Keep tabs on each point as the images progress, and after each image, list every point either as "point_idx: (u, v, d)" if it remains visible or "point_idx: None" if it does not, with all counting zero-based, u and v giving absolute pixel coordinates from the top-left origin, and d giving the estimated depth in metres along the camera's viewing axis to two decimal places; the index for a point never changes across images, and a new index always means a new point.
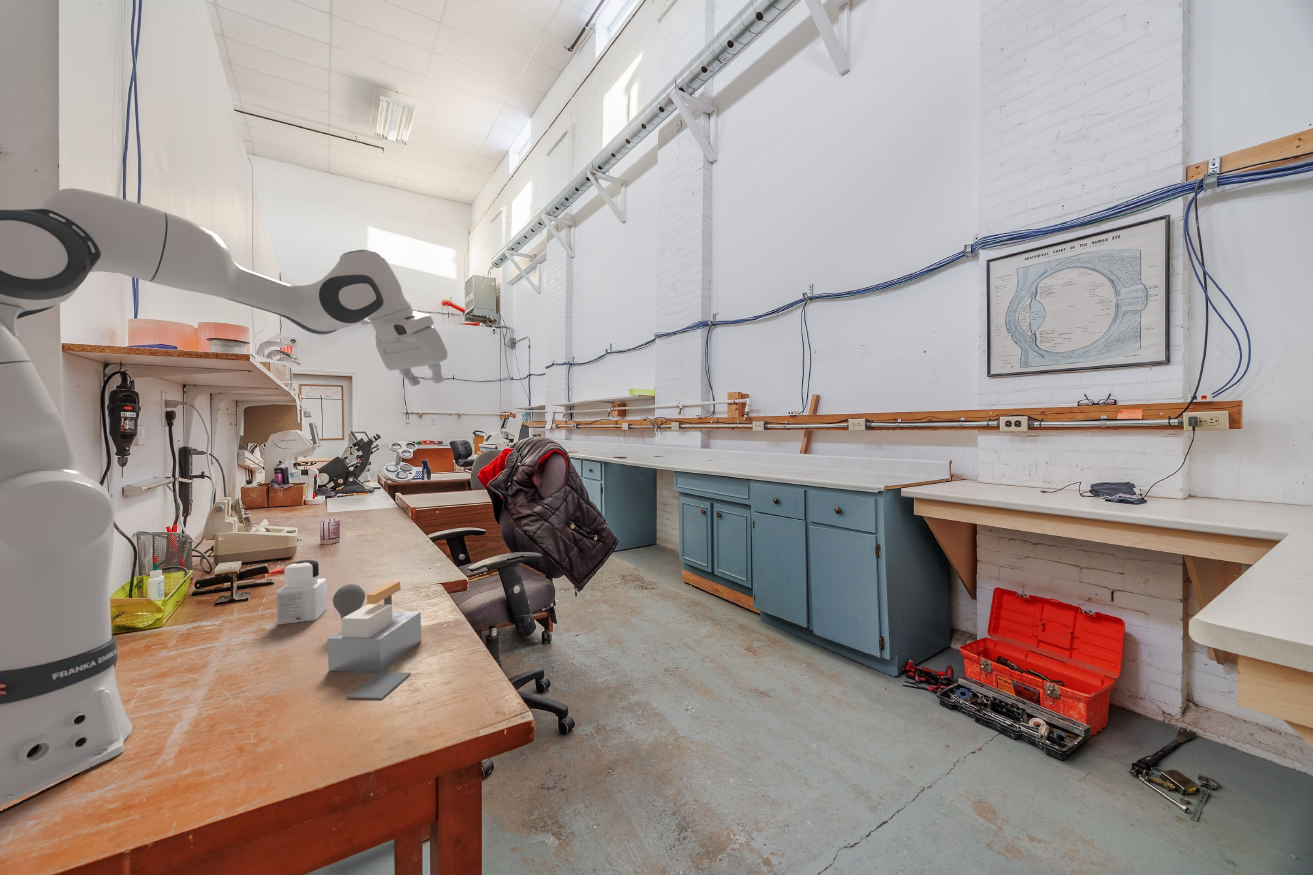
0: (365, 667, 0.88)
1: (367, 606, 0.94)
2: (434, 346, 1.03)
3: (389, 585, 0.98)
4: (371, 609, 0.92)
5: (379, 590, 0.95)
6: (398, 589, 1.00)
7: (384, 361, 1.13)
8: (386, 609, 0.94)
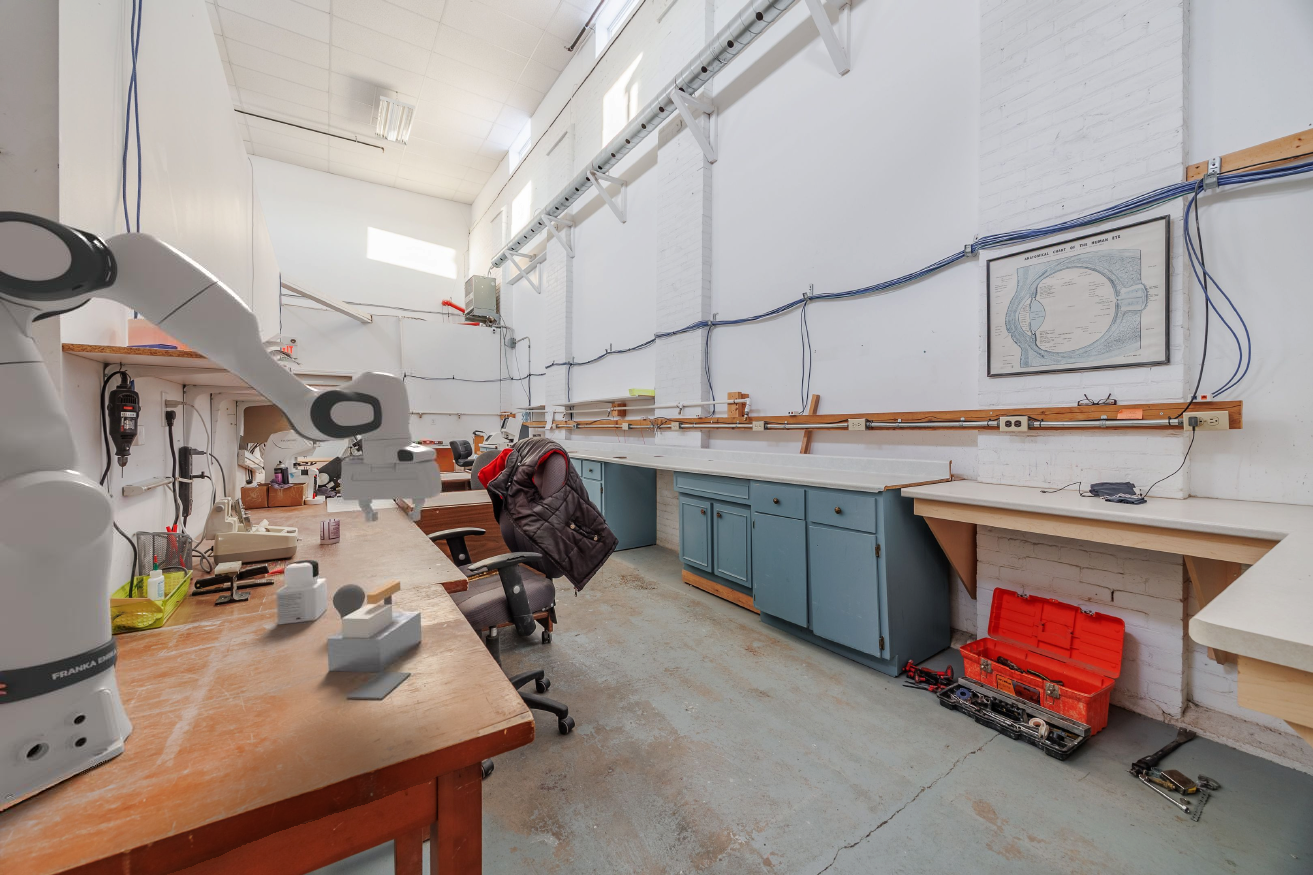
0: (365, 667, 0.88)
1: (367, 606, 0.94)
2: (434, 480, 0.97)
3: (389, 585, 0.98)
4: (371, 609, 0.92)
5: (379, 590, 0.95)
6: (398, 589, 1.00)
7: (343, 488, 0.98)
8: (386, 609, 0.94)
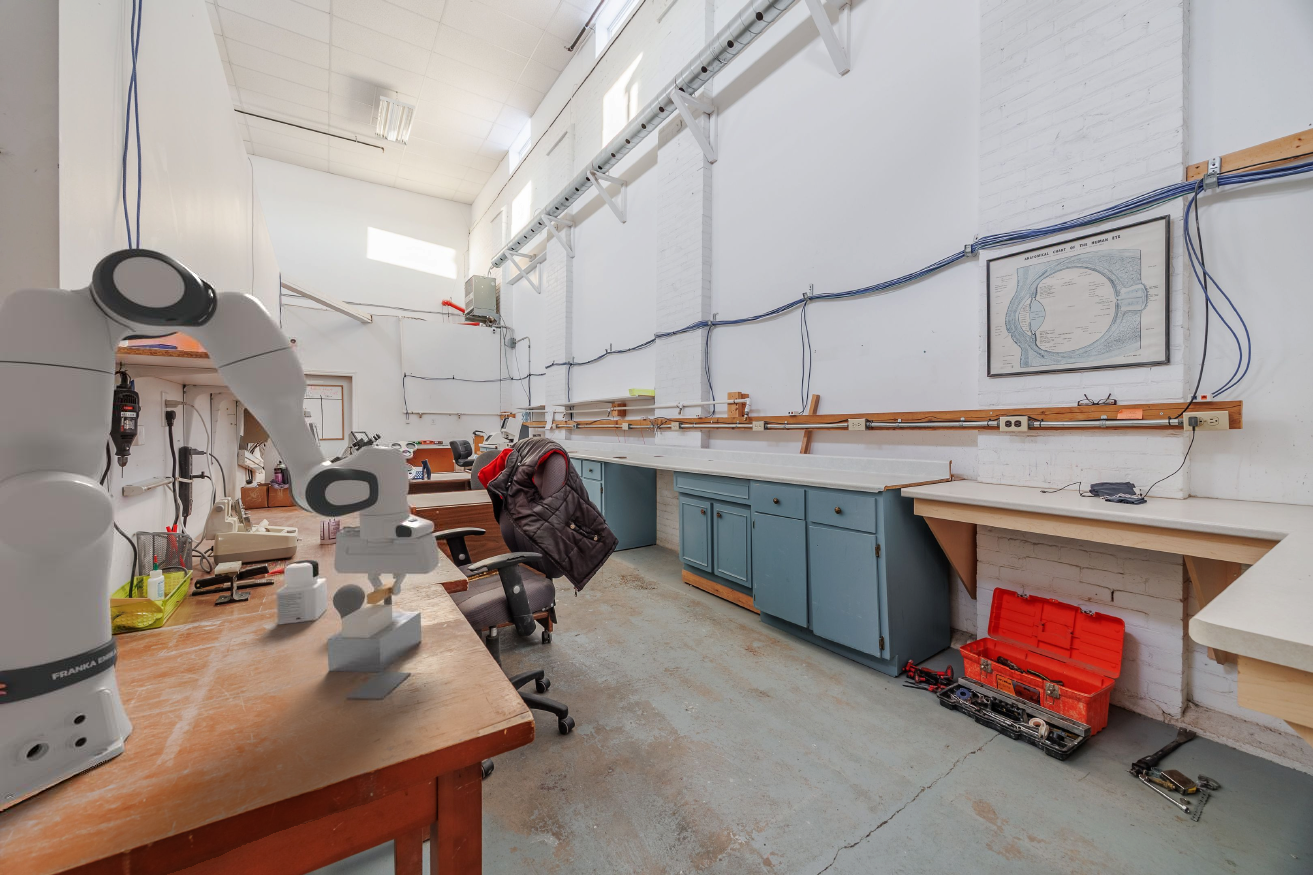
0: (365, 667, 0.88)
1: (367, 606, 0.94)
2: (432, 555, 0.96)
3: (389, 585, 0.98)
4: (371, 609, 0.92)
5: (379, 590, 0.95)
6: None
7: (338, 561, 0.97)
8: (386, 609, 0.94)
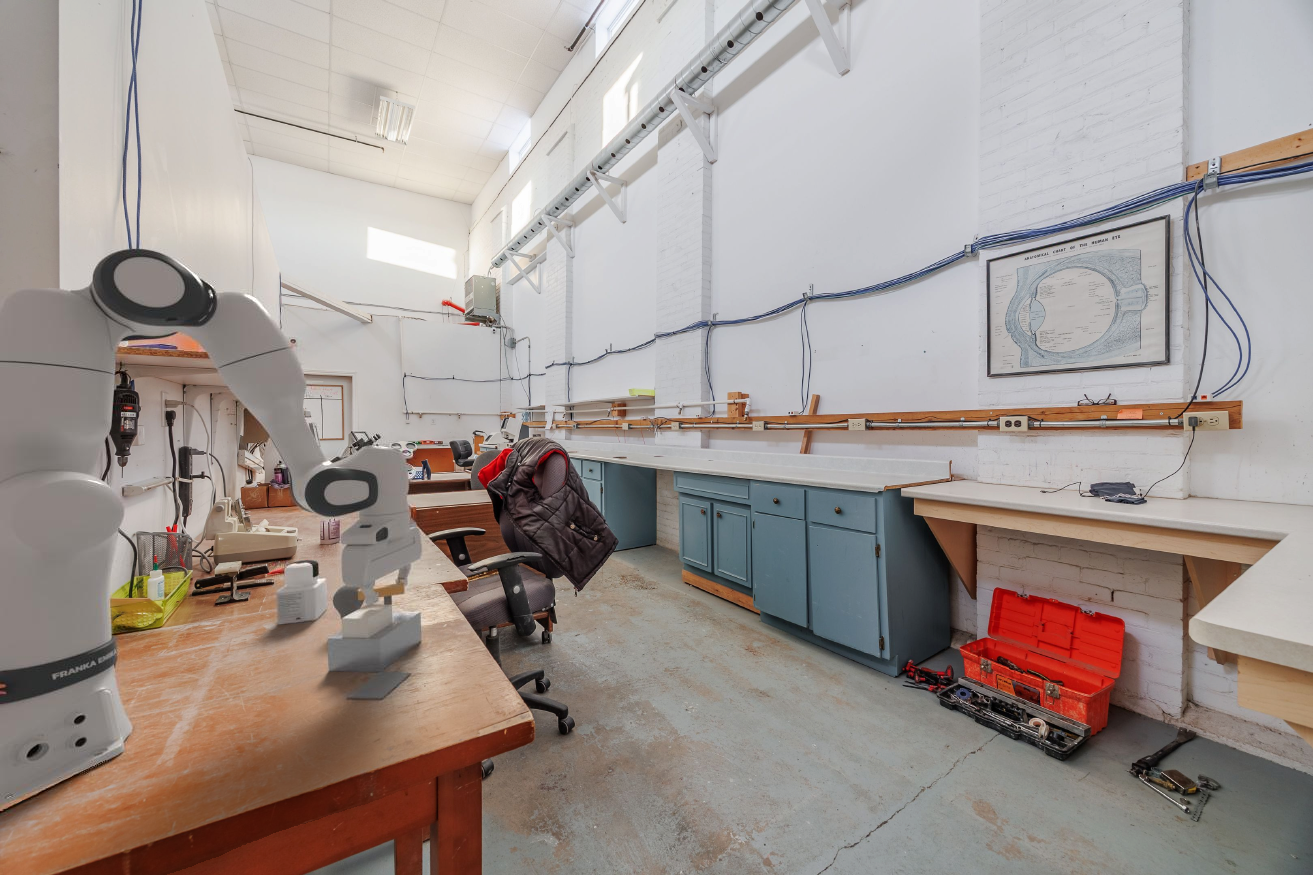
0: (365, 667, 0.88)
1: (367, 606, 0.94)
2: (349, 569, 0.88)
3: (389, 586, 0.98)
4: (371, 609, 0.92)
5: (373, 587, 0.97)
6: (399, 592, 0.98)
7: None
8: (386, 609, 0.94)
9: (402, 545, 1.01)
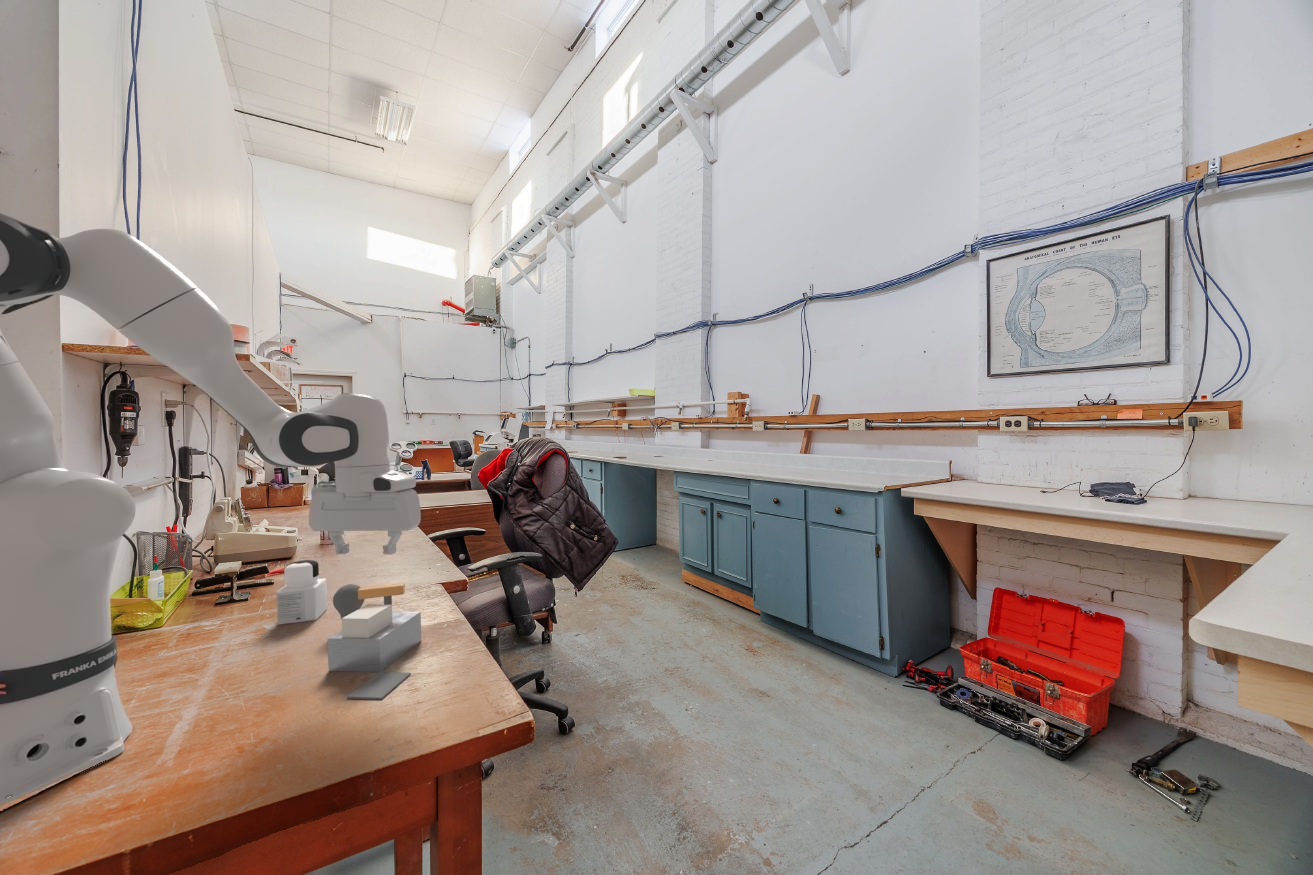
0: (365, 667, 0.88)
1: (367, 606, 0.94)
2: (413, 511, 0.90)
3: (389, 586, 0.98)
4: (371, 609, 0.92)
5: (373, 587, 0.97)
6: (399, 592, 0.98)
7: (312, 518, 0.90)
8: (386, 609, 0.94)
9: None
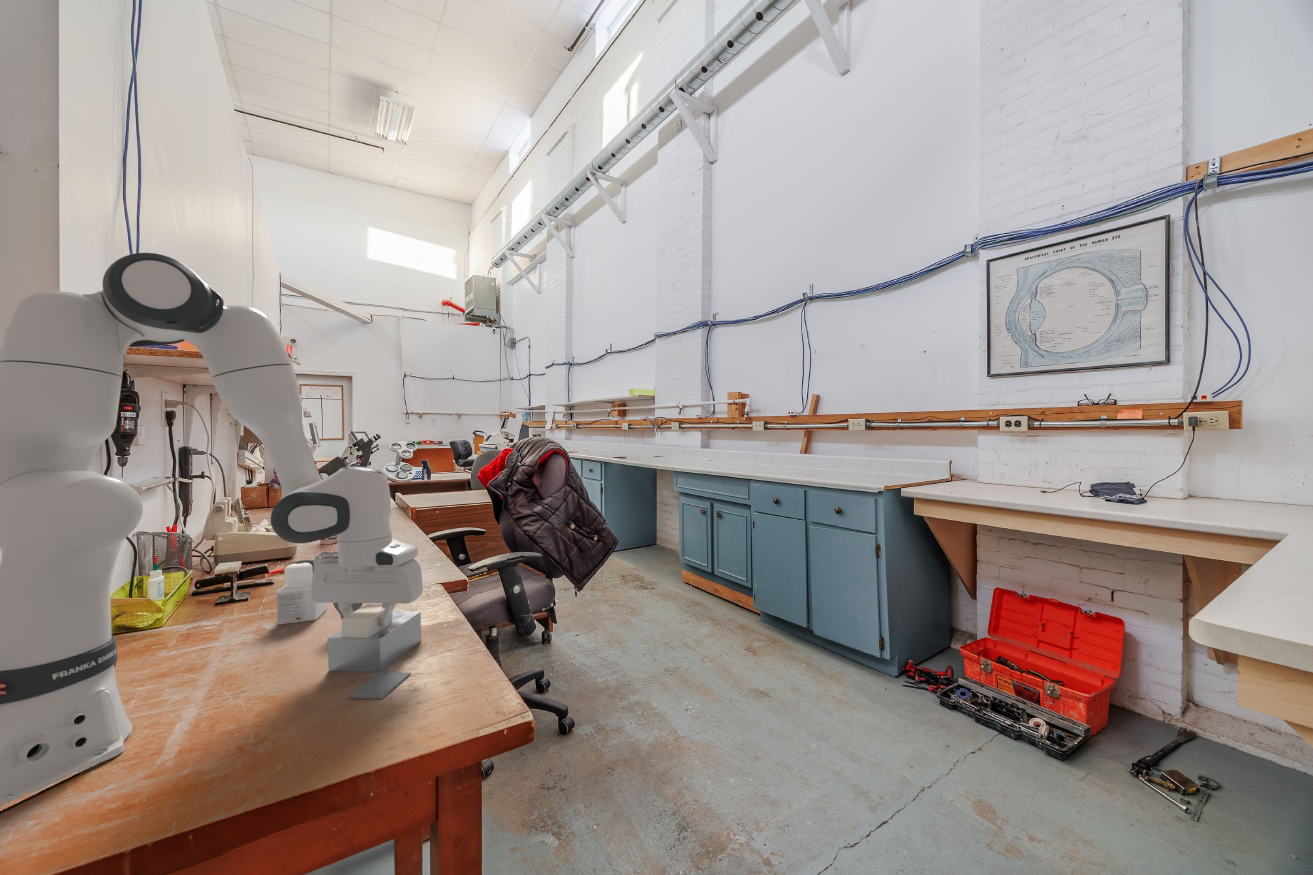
0: (365, 667, 0.88)
1: (367, 606, 0.94)
2: (415, 583, 0.91)
3: None
4: (371, 609, 0.92)
5: None
6: None
7: (315, 589, 0.91)
8: None
9: None
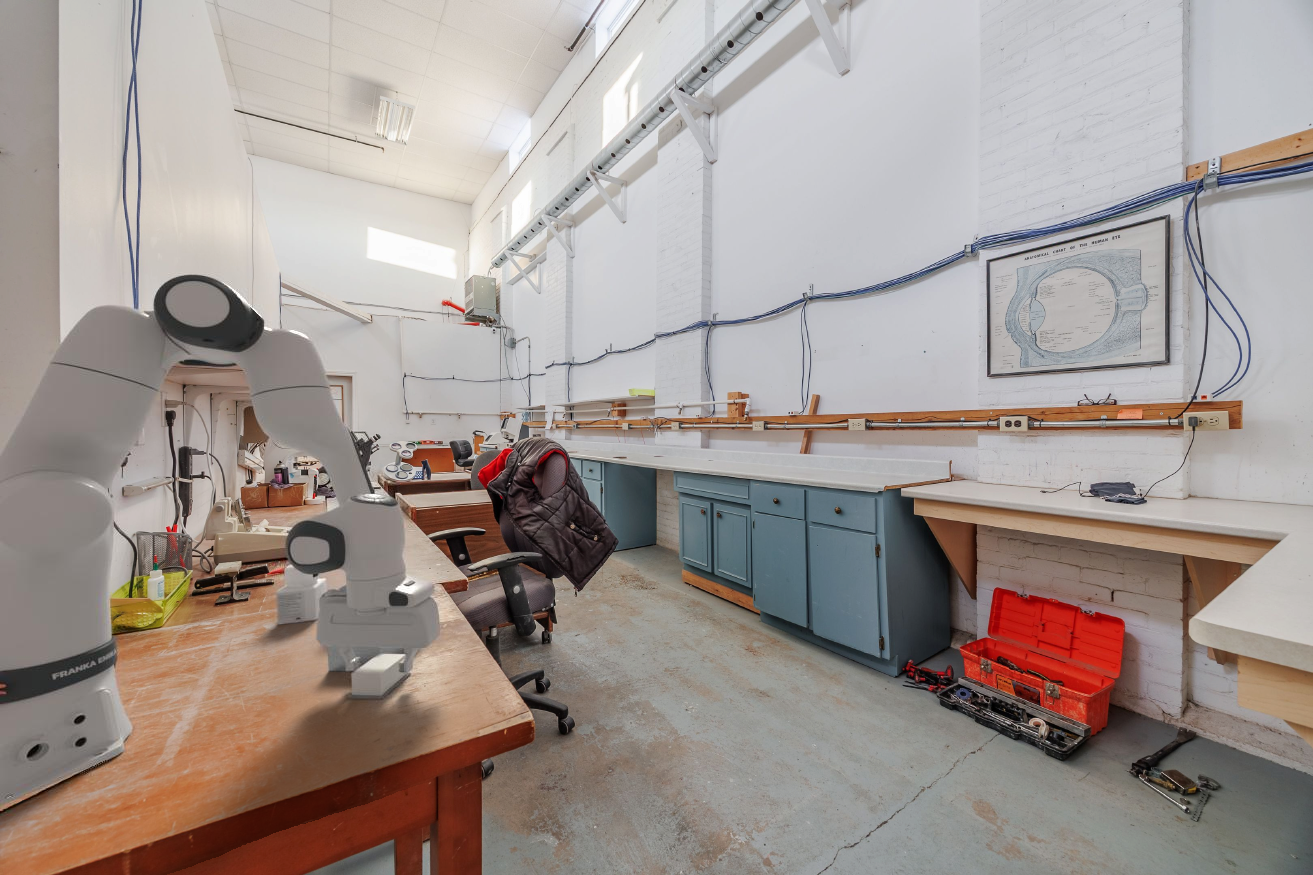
0: None
1: (379, 656, 0.85)
2: (432, 625, 0.81)
3: None
4: (383, 661, 0.84)
5: None
6: None
7: (320, 632, 0.82)
8: (400, 660, 0.85)
9: None
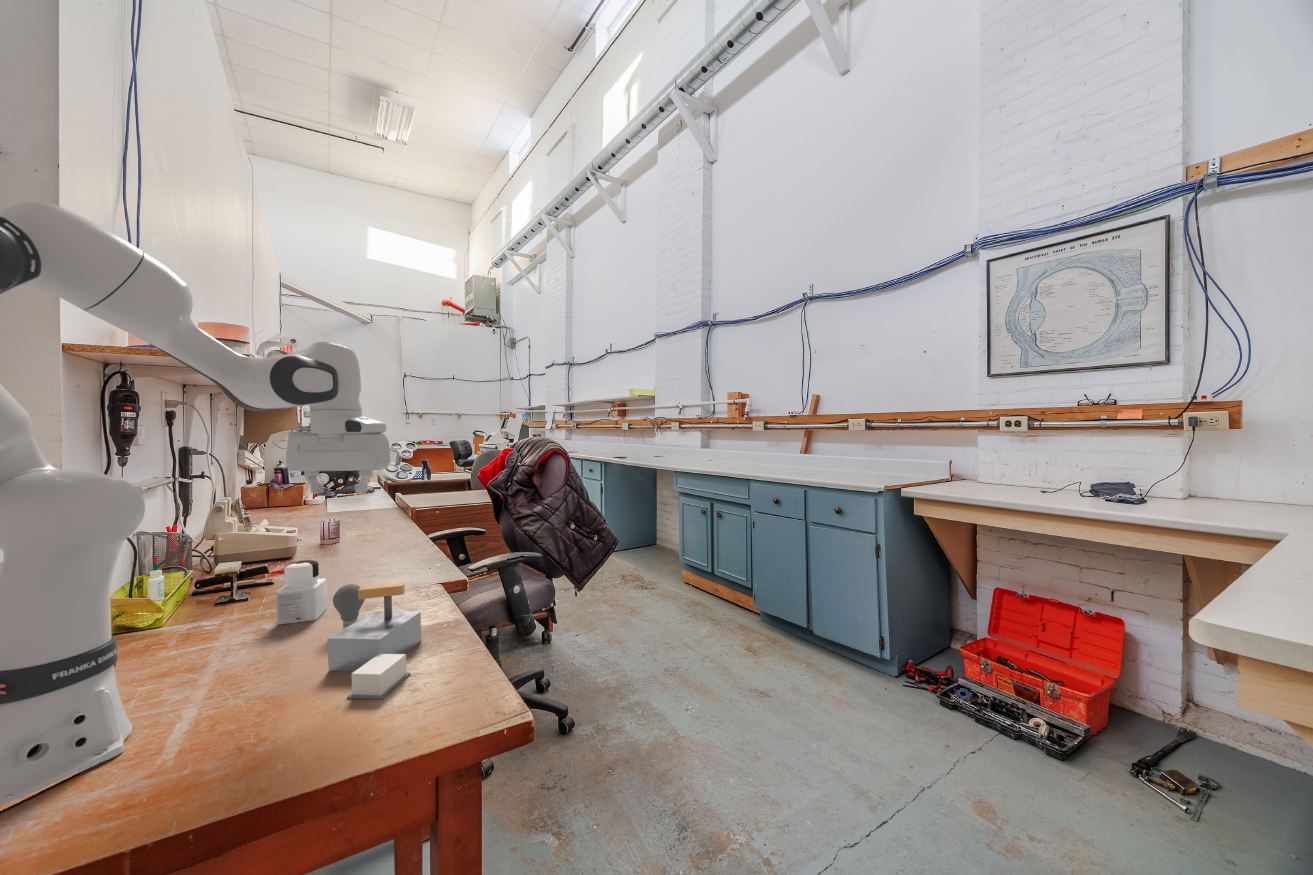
0: None
1: (379, 656, 0.85)
2: (383, 452, 0.97)
3: (389, 586, 0.98)
4: (383, 661, 0.84)
5: (373, 587, 0.97)
6: (399, 593, 0.98)
7: (289, 459, 0.97)
8: (400, 660, 0.85)
9: None
